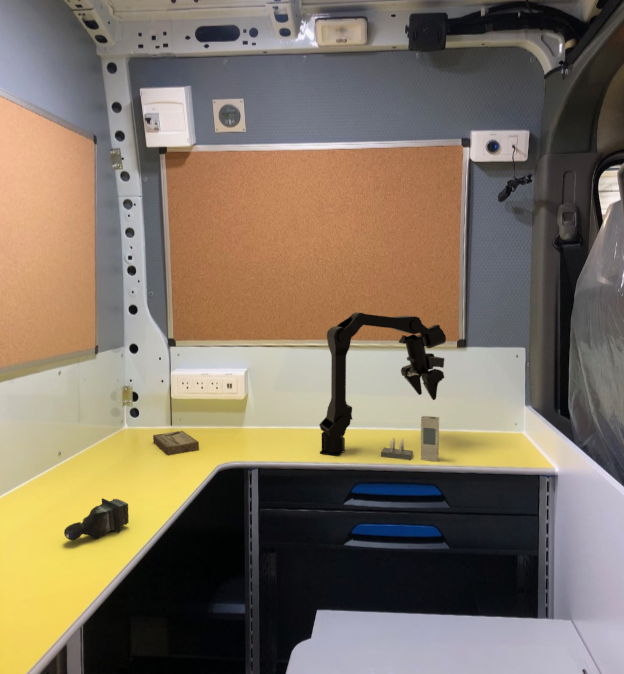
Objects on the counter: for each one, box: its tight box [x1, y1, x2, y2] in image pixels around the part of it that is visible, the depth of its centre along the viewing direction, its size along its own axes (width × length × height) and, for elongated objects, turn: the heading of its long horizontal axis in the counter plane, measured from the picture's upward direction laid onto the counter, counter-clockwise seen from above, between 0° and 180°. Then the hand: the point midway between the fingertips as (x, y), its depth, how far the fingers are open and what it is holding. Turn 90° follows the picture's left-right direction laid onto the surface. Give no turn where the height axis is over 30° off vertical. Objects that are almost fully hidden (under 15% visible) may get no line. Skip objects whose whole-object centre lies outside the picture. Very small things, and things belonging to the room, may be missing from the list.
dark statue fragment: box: [63, 497, 130, 541], centre depth 114 cm, size 6×13×6 cm, turn 147°
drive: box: [420, 415, 440, 463], centre depth 163 cm, size 5×2×13 cm, turn 70°
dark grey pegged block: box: [380, 437, 414, 461], centre depth 167 cm, size 9×5×5 cm, turn 70°
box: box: [152, 430, 200, 456], centre depth 179 cm, size 11×17×3 cm, turn 31°
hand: (427, 397), depth 181 cm, fingers open, 9 cm apart
